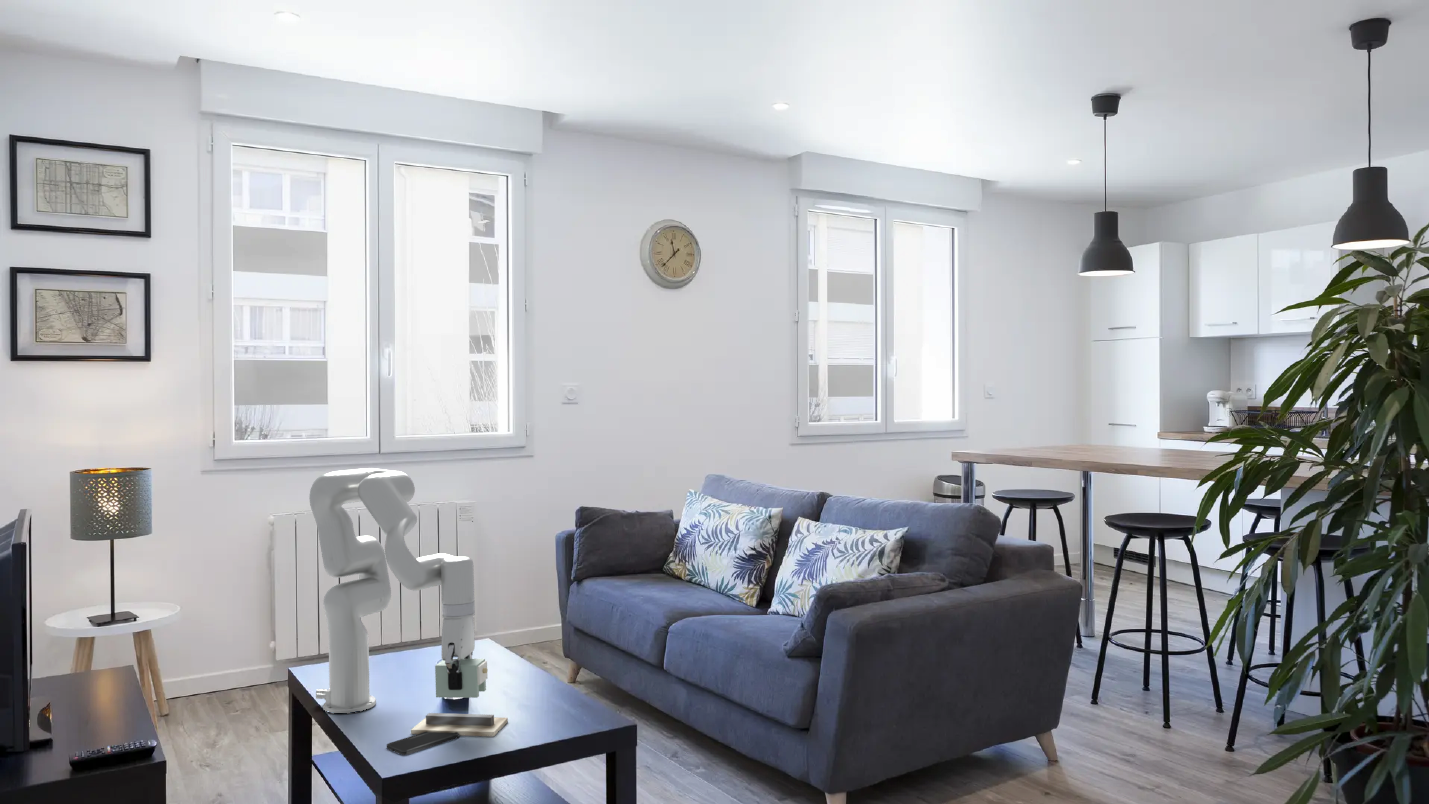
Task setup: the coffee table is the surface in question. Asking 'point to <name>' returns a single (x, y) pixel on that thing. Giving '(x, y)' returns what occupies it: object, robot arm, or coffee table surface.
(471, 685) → the mint green box
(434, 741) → the phone
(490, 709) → the coffee table surface
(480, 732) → the board
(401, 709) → the coffee table surface
